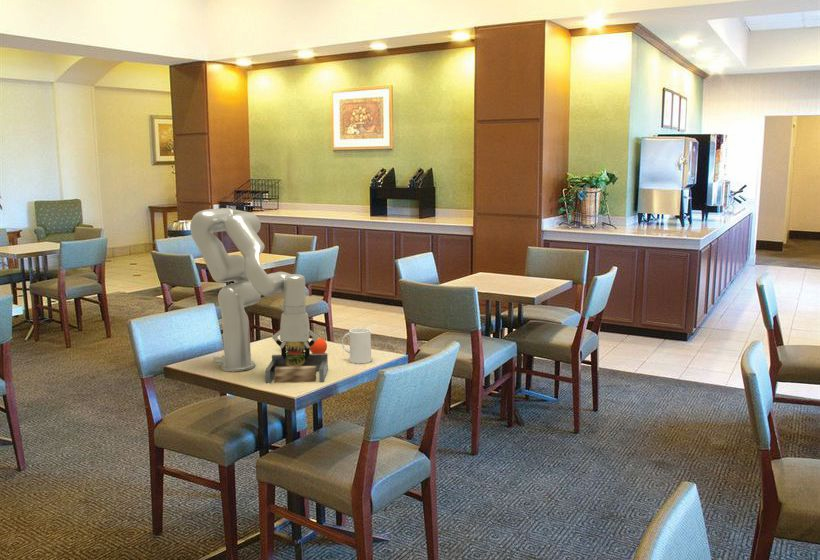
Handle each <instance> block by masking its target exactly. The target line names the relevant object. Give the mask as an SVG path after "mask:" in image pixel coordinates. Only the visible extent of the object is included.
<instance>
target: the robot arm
mask: <svg viewBox="0 0 820 560" xmlns="http://www.w3.org/2000/svg"><path fill="white" fill-rule="evenodd" d="M261 225H262V223H261V221H260V219H259V217H258V216H257V215H256V214H254V213H253V212H249V211H244V210H239V209H234V208H229V207H227V208H226V207H225V208H223V207H222V208H211V209H210V208H209V209H204V210H203V209H202V210H200V211H198V212H196V213H195V214H194V215H193V217H192V218H191V220H190V225H189V226H190V228H189V230H190V234H191V237H192V239H193V242H194V243H195V245H196V246H197V248H198V250H199V252H200V254H201V256H202V259H203V260H204V263H205V265H206V267H207V269H208V272H209V273H210V275H211V277H212V280H214V281H215V282H216V283H220V284H222V283H229V282H233V283H230V284H227V285H224V286H223V287H222V288H221V289H220V290H219V292H218V294H217V302H218V305H219V309H220V314H221V324H222V338H223V341H222V342H223V353H224V355H222V356H213V358H212V362H213V363H215V364H220V369H221V371H224V372H229V371H232V372H234V371H237V372H245V371H248V370H252V369H254V368H255V367H256V362H255V361H254V360H252V356H251V355H252V353H251V338H250V337H251V335H250V320H249V316H248V314H247V312H246V310H245V308H246V307H249V306H253V305H256V304H257V303H258V302H260V300H261V297H262V296H264V297H270V296H274V295H277V294H282V293H283V305H282V306H281V305H279V311H282V312H283V313H281V316H280V326H279V328H280V329H279V330H278V331H277V332H276V333H274V334H273V335H272V336H271V338H272V340H273V341H274V342H275V343H276V345H278V346H279V348H281V349H280V353H281V354H280V355H281V356H283V359H285V358H286V355H287V354H286V353H287V347H286V346H285V343H286V342H304V344H305V346H306V348H305V350H304V352H305V359H307V358H308V356H310V354H311V353H310V352H311V351H310V347H311V346H312V345H313V344H314V342H315V341H316V340H317V339H318V338H319V335H318V334H316V333H315V332H313V331H312V330H311V328H310V319H309V314H308V312H306V278H305V275H302V274H300V273H299V274H297V273H292V274H291V273H289V272H285V271H276V272H271V273H267V272H266V271H265V269H264V268H263V267H262V265H261V263H260V255H261V254H262V253H263V251H265V243H264V242H263V241H262V239H261V238H260V236H259V235H258V233H259V231H260V230H261ZM220 232H226V234H227V235H228V236H229V237H230V239H231V240H232V242H233V243H234V245H235V247H236V248H237V249H238V251H239V252H240V254H241V255H239V254H231V255H229V254H228V252H227V250H226V248H225V245H224V244H223V242H222V241H221V240H220V239H219V238H218V236H216V235H215V234H214V233H220ZM311 337H312V339H311V340H310V338H311ZM244 370H245V371H244ZM234 373H235V372H234Z"/></svg>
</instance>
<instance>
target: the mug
mask: <svg viewBox="0 0 820 560" xmlns="http://www.w3.org/2000/svg"><path fill="white" fill-rule="evenodd" d="M371 334H372V333H371V329H369V328H366V327H354V328H351V329H349V331H348V332H347V333H345V334H344V335H343V337H342V338H341V346H342V348H343V350H344V351H345V352H346V353H348V354H349V362H350V363H351V362H352V363H351V364H355V363H357V364H359V363H364V364H368V363H367V362H369V363H371V362H372V361H373V359H372V338H371V337H372V335H371ZM347 337H349V349H347V348H346V347H345V344H344V340H345V338H347ZM370 361H371V362H370ZM357 364H356V365H357ZM359 365H360V364H359Z"/></svg>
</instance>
